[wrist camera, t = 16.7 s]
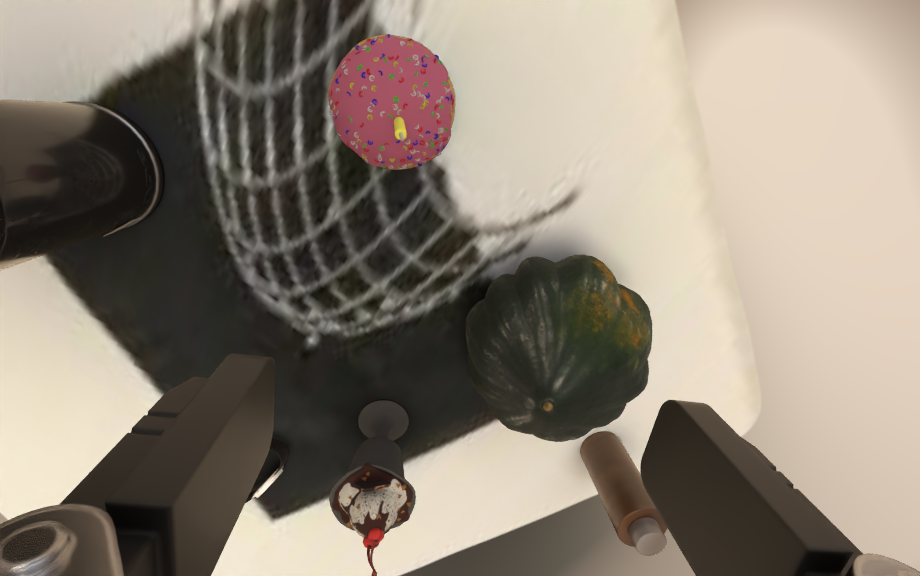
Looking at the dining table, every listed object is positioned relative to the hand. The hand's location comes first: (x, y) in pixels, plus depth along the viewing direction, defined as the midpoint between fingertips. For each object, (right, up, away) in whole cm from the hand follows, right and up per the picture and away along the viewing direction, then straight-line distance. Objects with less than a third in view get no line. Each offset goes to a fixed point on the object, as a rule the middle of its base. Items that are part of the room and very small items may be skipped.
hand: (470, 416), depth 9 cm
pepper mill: (+15, -14, +39) cm, 44 cm away
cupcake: (-5, +17, +26) cm, 31 cm away
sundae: (-8, -11, +36) cm, 38 cm away
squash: (+7, 0, +33) cm, 34 cm away
